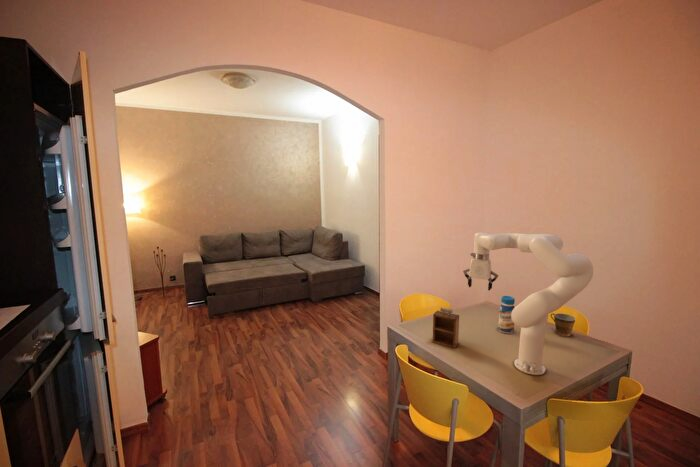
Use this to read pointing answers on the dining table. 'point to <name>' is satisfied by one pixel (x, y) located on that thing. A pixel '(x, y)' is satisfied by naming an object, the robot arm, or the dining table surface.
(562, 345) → the dining table surface
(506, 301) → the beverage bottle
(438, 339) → the brown open box
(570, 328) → the ceramic cup
